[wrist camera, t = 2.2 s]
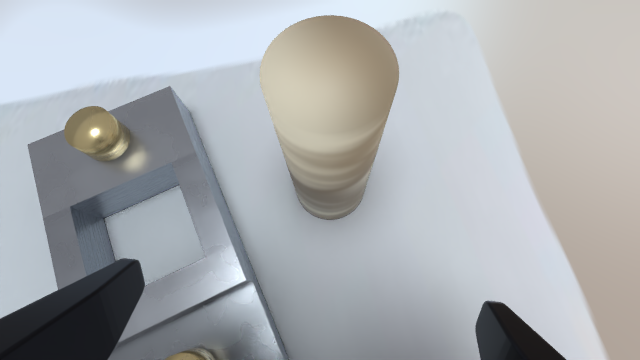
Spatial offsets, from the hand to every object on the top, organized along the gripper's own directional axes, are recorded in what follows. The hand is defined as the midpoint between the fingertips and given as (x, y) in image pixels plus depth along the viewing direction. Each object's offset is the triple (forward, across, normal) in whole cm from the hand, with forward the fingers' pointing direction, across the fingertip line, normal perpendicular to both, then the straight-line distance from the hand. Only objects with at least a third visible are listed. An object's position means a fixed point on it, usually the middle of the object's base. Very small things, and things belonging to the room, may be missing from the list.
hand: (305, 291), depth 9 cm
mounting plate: (+8, +9, +9) cm, 15 cm away
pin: (+13, 0, +4) cm, 14 cm away
